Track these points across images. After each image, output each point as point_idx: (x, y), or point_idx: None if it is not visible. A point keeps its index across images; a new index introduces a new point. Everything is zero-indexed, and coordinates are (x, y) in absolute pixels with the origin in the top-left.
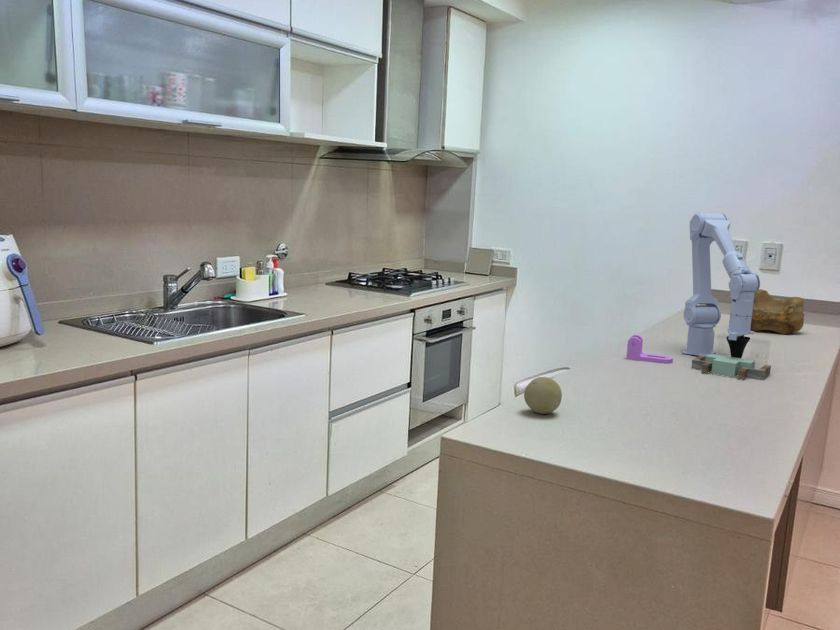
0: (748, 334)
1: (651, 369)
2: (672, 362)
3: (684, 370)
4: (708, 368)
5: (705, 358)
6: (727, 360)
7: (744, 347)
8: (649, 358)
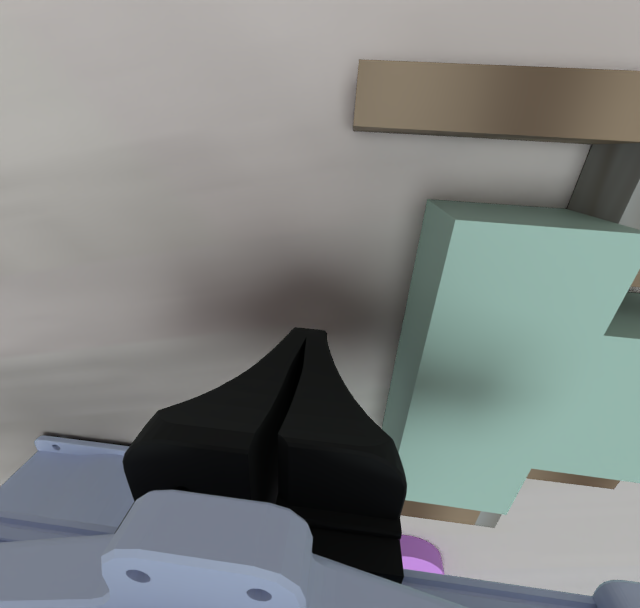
0: (314, 555)
1: (593, 575)
2: (402, 536)
3: (546, 496)
4: None
5: None
6: (606, 410)
7: (273, 383)
8: None
